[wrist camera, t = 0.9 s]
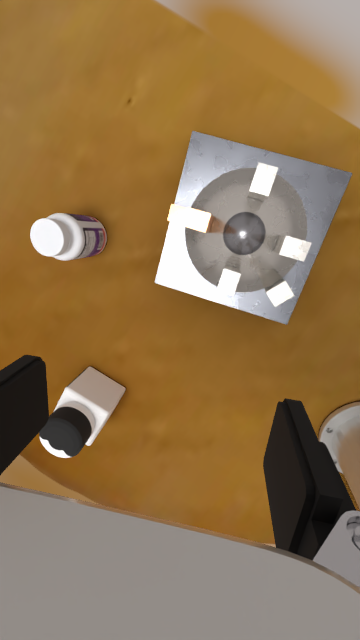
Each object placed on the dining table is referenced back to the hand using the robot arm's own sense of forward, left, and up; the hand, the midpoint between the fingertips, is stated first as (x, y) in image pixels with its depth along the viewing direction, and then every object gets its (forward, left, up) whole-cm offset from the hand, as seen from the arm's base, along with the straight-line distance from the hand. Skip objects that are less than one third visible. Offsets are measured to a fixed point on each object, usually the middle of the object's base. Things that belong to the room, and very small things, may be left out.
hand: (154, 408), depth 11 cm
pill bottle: (+18, -1, -29) cm, 34 cm away
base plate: (-2, -7, -29) cm, 30 cm away
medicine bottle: (+12, +23, -29) cm, 39 cm away
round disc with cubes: (-1, -7, -27) cm, 28 cm away
